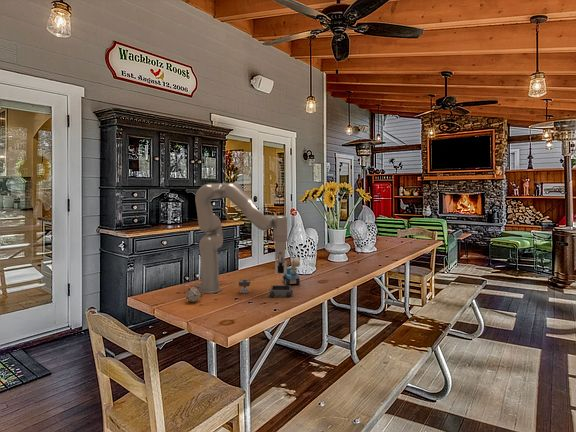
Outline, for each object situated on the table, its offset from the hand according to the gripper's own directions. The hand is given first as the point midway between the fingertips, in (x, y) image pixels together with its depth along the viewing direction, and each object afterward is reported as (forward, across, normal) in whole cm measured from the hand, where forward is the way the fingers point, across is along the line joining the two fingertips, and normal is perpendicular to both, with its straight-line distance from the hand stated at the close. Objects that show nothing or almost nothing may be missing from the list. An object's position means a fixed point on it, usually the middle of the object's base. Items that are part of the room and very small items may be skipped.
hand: (281, 271), depth 203 cm
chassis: (+13, 0, 0) cm, 13 cm away
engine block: (+1, 0, 0) cm, 1 cm away
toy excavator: (+13, -18, +6) cm, 23 cm away
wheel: (+8, -2, -20) cm, 22 cm away
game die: (+12, +14, -44) cm, 48 cm away
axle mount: (+12, -2, -20) cm, 24 cm away
